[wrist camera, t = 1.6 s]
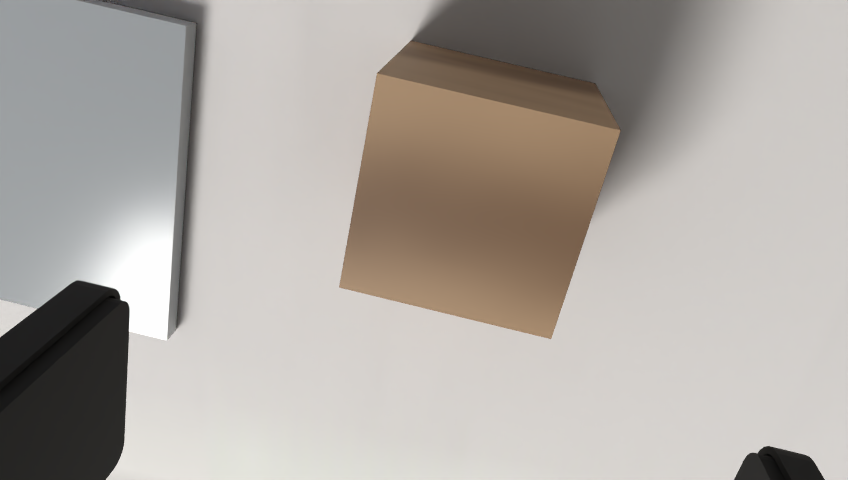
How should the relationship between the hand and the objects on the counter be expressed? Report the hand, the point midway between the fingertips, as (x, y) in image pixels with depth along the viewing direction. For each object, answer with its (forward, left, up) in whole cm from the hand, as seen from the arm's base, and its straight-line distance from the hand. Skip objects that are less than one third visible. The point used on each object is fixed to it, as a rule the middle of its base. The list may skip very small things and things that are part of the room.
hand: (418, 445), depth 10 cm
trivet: (+4, -16, -14) cm, 22 cm away
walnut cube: (0, 0, -15) cm, 15 cm away
